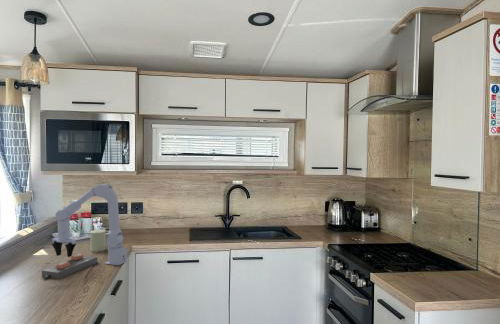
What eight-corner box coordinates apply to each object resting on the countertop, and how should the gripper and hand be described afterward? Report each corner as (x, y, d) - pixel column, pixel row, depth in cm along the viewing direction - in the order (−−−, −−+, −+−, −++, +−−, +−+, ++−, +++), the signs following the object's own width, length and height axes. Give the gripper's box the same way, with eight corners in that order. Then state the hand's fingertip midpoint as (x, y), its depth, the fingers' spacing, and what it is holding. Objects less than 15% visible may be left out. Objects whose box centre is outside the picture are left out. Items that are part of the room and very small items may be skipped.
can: (88, 252, 209) (88, 232, 209) (91, 248, 218) (91, 229, 218) (104, 251, 212) (104, 231, 212) (107, 247, 221) (106, 228, 220)
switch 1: (69, 265, 174) (69, 261, 174) (61, 268, 169) (61, 264, 169) (64, 265, 175) (64, 261, 175) (56, 268, 170) (56, 264, 170)
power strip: (97, 262, 189) (97, 257, 189) (52, 281, 162) (52, 274, 162) (83, 260, 192) (82, 255, 192) (36, 278, 165) (36, 272, 165)
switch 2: (83, 257, 187) (83, 253, 187) (75, 260, 183) (75, 256, 183) (78, 257, 188) (78, 253, 188) (71, 259, 184) (71, 255, 184)
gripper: (47, 231, 186) (47, 256, 187) (68, 233, 182) (68, 259, 182) (58, 229, 193) (58, 253, 193) (78, 230, 189) (79, 255, 189)
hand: (64, 255), depth 188 cm, fingers open, 7 cm apart
